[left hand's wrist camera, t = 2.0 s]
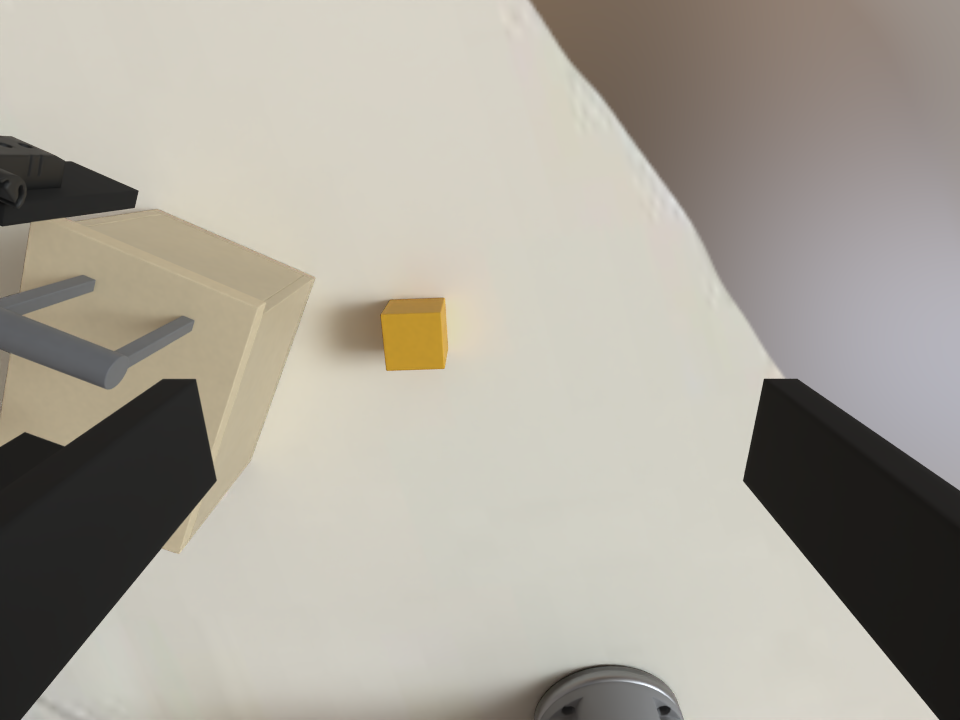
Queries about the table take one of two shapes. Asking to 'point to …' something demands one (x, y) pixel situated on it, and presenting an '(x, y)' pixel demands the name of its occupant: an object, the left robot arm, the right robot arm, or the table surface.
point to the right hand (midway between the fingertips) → (76, 328)
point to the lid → (115, 337)
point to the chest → (274, 334)
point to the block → (415, 334)
